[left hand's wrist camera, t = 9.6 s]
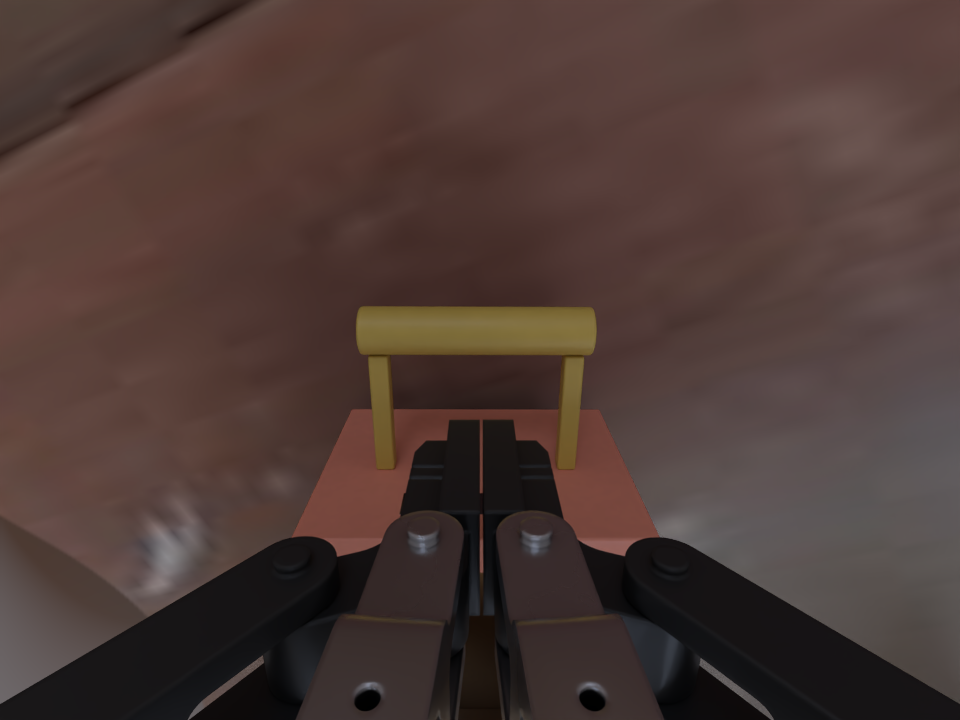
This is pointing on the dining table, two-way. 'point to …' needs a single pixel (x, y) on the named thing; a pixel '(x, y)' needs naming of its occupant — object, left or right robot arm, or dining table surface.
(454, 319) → the drawer
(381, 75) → the dining table surface
